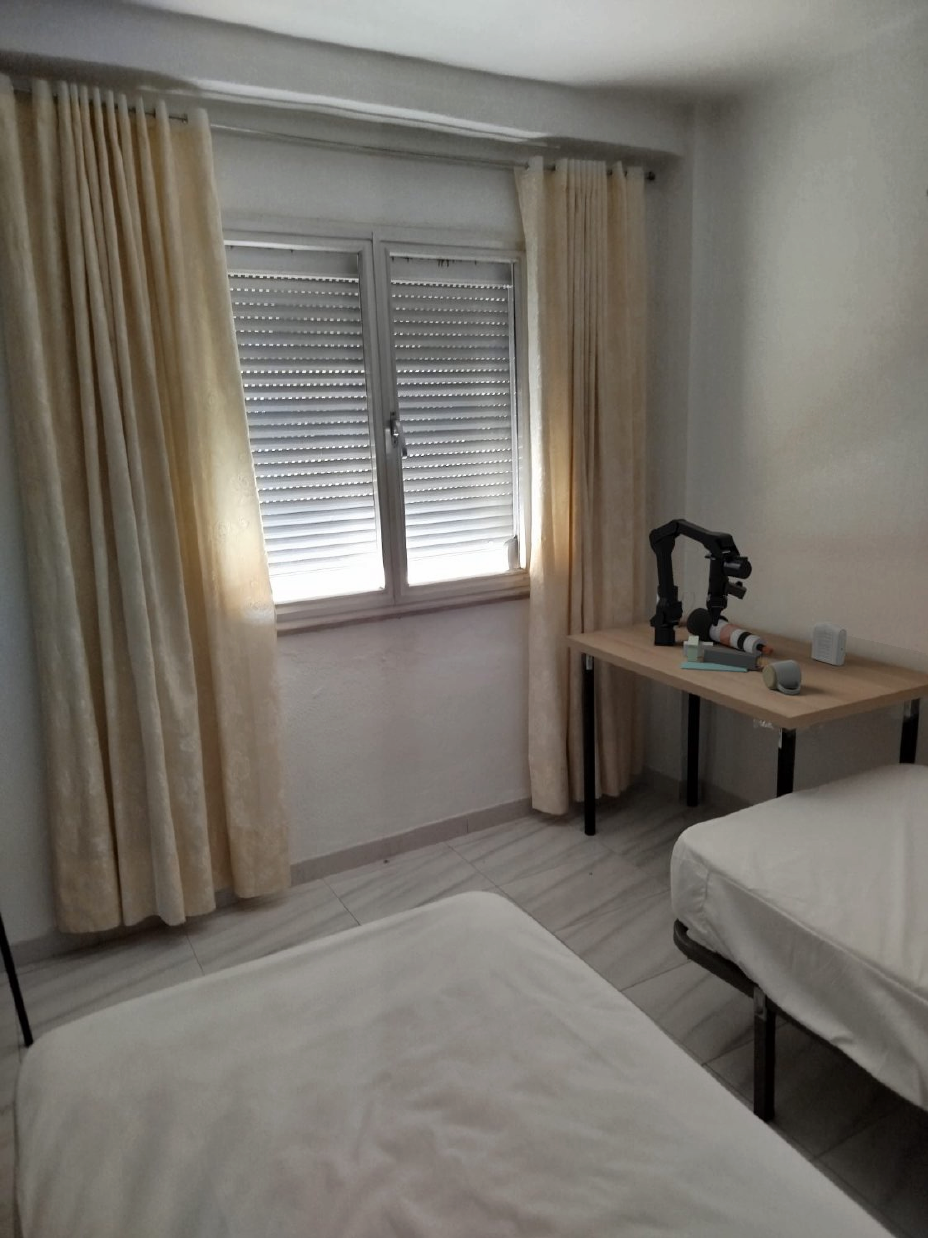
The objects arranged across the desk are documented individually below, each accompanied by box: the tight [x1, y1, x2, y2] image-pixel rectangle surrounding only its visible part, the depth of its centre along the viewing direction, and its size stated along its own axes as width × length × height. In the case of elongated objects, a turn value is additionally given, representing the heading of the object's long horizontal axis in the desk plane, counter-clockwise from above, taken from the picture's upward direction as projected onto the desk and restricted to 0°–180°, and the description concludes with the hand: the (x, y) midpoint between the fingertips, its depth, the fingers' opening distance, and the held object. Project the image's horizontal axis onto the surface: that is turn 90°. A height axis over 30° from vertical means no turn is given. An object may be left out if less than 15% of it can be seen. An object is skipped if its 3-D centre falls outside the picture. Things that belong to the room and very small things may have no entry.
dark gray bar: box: [702, 646, 763, 671], centre depth 244 cm, size 18×4×4 cm, turn 50°
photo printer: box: [811, 621, 847, 667], centre depth 245 cm, size 10×4×12 cm, turn 25°
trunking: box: [682, 640, 714, 658], centre depth 257 cm, size 9×4×4 cm, turn 73°
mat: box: [680, 661, 748, 673], centre depth 243 cm, size 19×7×1 cm, turn 73°
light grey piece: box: [686, 634, 700, 662], centre depth 255 cm, size 3×13×6 cm, turn 163°
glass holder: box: [656, 584, 696, 629], centre depth 296 cm, size 9×14×15 cm, turn 67°
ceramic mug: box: [762, 659, 803, 696], centre depth 220 cm, size 11×8×8 cm
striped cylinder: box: [686, 607, 775, 656], centre depth 265 cm, size 10×34×10 cm, turn 23°
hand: (715, 622), depth 252 cm, fingers open, 9 cm apart
